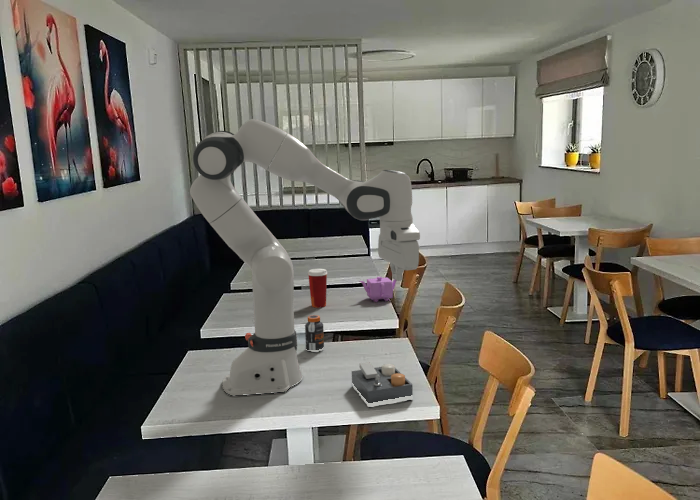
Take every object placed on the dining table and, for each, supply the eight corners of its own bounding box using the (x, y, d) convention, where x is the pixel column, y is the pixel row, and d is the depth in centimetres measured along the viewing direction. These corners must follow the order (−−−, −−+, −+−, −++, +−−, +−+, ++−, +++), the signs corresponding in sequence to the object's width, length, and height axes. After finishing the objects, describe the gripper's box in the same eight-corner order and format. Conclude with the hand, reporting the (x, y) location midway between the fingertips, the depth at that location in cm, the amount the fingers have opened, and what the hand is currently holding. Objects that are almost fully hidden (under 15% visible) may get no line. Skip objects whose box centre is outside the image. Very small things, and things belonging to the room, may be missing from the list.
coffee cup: (332, 304, 241) (331, 269, 238) (321, 309, 234) (319, 273, 231) (316, 302, 245) (314, 267, 242) (304, 306, 238) (303, 271, 235)
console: (368, 408, 146) (368, 380, 144) (352, 386, 159) (351, 360, 158) (412, 400, 149) (412, 373, 148) (392, 380, 162) (392, 355, 161)
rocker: (366, 378, 152) (366, 375, 152) (359, 367, 158) (359, 363, 157) (377, 377, 153) (377, 373, 153) (369, 365, 158) (369, 361, 158)
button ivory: (384, 383, 155) (384, 369, 155) (380, 378, 159) (379, 365, 158) (397, 381, 156) (396, 367, 156) (392, 376, 160) (392, 363, 159)
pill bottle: (317, 354, 184) (315, 320, 182) (302, 351, 187) (300, 317, 185) (327, 348, 189) (326, 315, 187) (313, 345, 192) (311, 312, 190)
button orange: (394, 394, 149) (394, 379, 148) (389, 388, 152) (389, 374, 151) (407, 392, 150) (407, 377, 149) (402, 386, 153) (401, 372, 152)
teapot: (395, 293, 255) (395, 271, 253) (404, 301, 242) (403, 278, 241) (355, 296, 252) (354, 274, 250) (362, 304, 239) (361, 281, 237)
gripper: (372, 226, 165) (373, 273, 168) (400, 236, 146) (401, 289, 148) (392, 224, 167) (393, 271, 170) (423, 234, 148) (423, 286, 150)
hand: (397, 279), depth 159 cm, fingers closed
